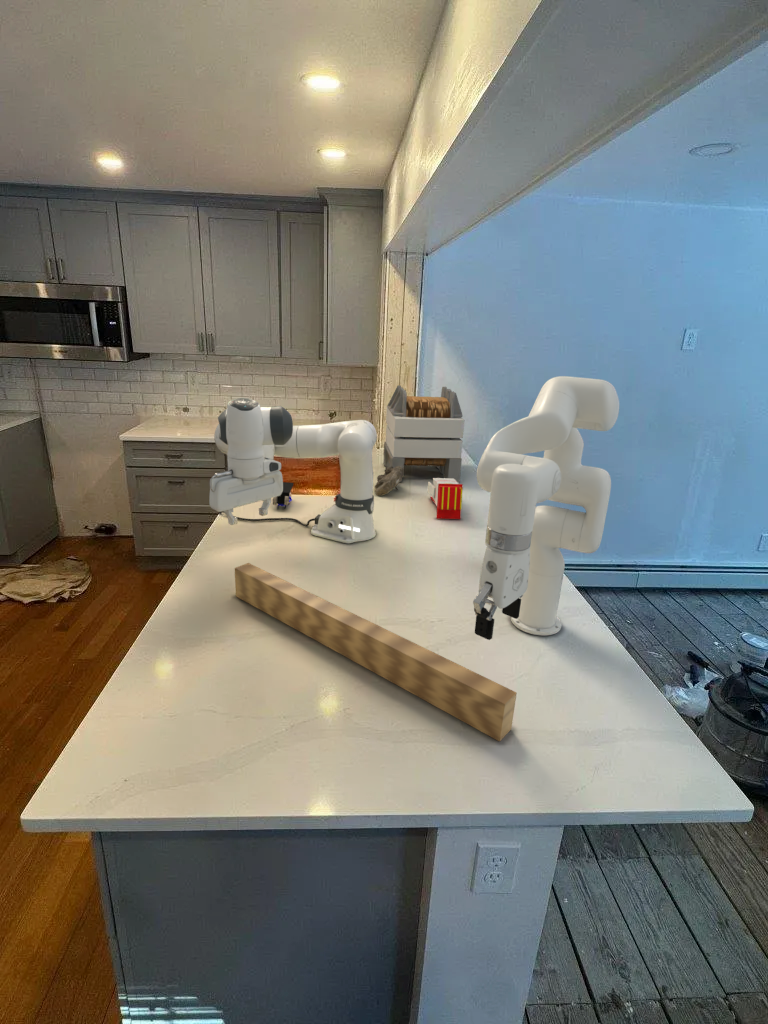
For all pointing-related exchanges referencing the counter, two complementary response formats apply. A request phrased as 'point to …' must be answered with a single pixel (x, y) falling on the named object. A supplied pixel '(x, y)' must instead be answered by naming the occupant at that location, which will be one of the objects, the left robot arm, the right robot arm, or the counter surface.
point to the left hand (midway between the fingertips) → (248, 519)
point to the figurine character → (284, 496)
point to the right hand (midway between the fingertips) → (497, 625)
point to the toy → (446, 497)
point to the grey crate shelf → (424, 432)
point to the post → (382, 652)
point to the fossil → (388, 480)
